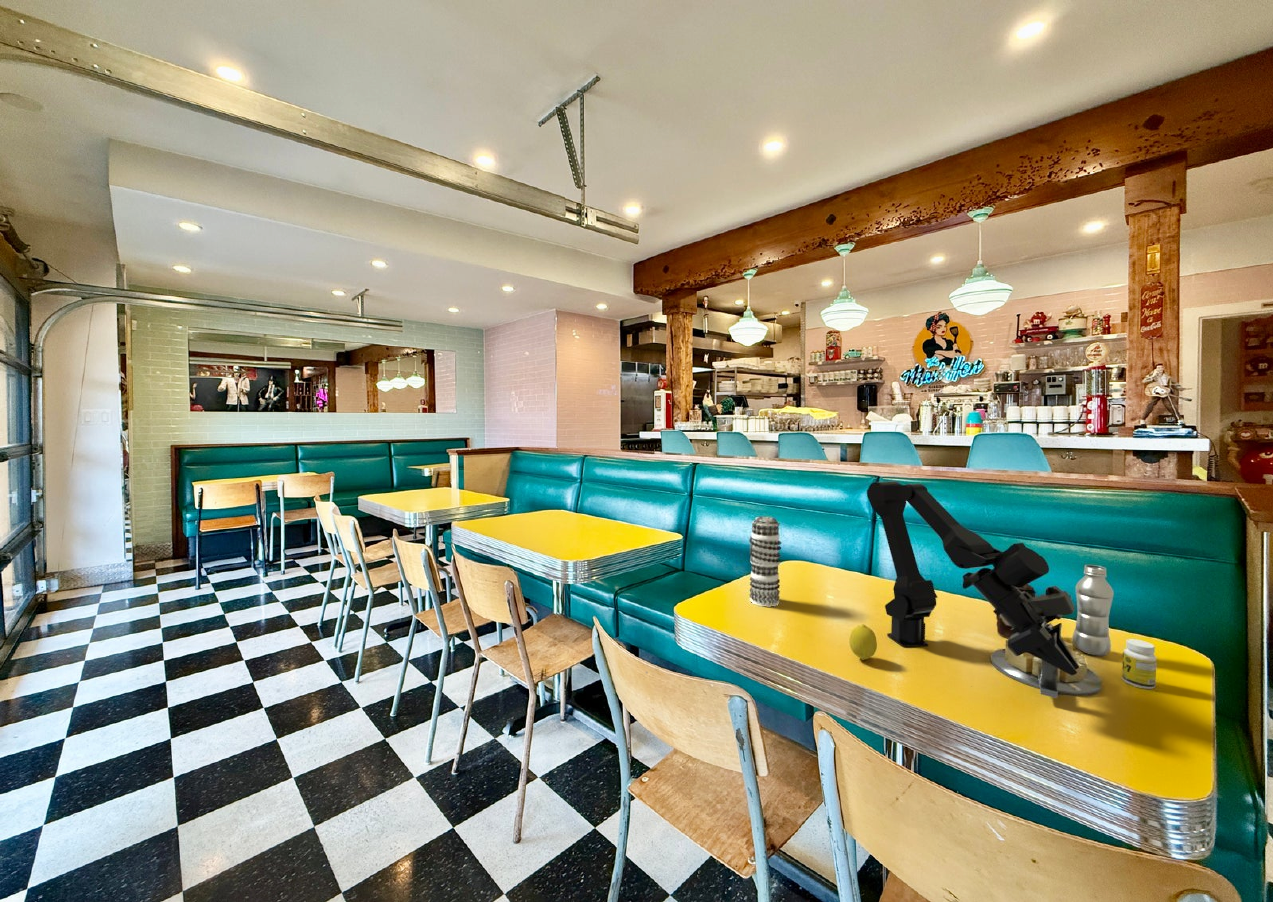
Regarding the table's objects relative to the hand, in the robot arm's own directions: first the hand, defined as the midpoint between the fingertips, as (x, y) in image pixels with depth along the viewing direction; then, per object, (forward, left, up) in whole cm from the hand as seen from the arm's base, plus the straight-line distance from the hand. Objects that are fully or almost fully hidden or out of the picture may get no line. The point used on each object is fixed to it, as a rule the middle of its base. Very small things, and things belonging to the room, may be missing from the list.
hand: (1075, 671), depth 90 cm
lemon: (-28, +22, -7) cm, 36 cm away
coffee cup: (+16, +30, -7) cm, 35 cm away
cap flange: (+7, +13, -7) cm, 16 cm away
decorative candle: (-37, +59, -7) cm, 70 cm away
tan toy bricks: (+4, +10, -6) cm, 12 cm away
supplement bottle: (+22, +7, -7) cm, 24 cm away
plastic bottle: (+26, +20, -7) cm, 34 cm away
